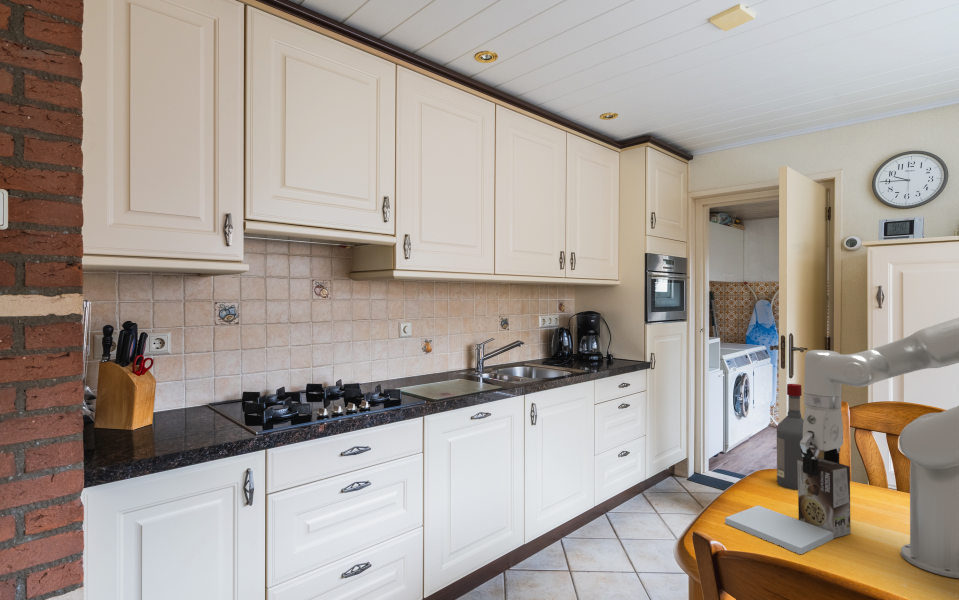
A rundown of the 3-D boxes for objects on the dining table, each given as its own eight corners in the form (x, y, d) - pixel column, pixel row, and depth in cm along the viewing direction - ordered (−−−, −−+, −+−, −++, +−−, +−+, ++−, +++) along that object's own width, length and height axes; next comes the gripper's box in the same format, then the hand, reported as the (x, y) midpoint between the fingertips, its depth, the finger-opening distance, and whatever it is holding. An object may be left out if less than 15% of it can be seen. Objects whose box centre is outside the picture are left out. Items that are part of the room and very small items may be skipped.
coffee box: (852, 533, 121) (851, 466, 121) (833, 538, 119) (833, 470, 118) (814, 518, 129) (814, 455, 129) (796, 522, 127) (796, 458, 127)
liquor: (812, 482, 154) (811, 383, 153) (813, 492, 146) (813, 388, 145) (777, 477, 158) (776, 381, 158) (776, 487, 150) (776, 385, 150)
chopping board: (833, 538, 118) (833, 532, 118) (800, 554, 111) (800, 548, 111) (758, 510, 134) (758, 505, 134) (725, 523, 127) (725, 517, 127)
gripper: (820, 408, 116) (818, 482, 117) (857, 400, 125) (855, 469, 125) (786, 402, 123) (785, 472, 123) (824, 394, 131) (822, 460, 132)
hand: (820, 470), depth 124 cm, fingers open, 9 cm apart
